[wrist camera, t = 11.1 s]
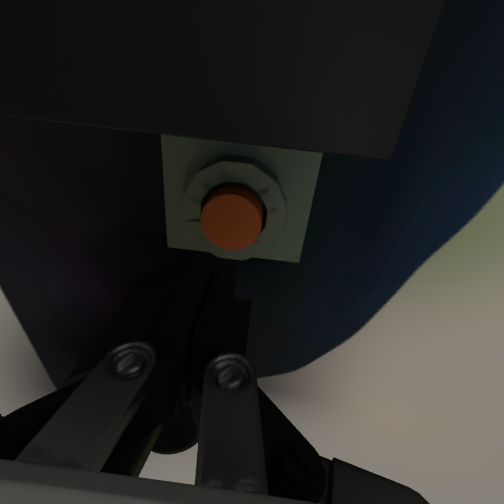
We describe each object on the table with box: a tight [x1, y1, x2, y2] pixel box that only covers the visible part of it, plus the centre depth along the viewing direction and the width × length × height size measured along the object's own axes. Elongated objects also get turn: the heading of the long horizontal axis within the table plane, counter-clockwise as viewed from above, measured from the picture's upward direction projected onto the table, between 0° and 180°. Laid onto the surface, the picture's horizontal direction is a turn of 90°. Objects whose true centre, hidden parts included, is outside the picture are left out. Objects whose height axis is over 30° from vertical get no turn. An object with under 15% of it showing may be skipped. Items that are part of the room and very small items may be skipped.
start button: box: [201, 185, 263, 250], centre depth 17 cm, size 4×4×2 cm
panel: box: [161, 134, 323, 263], centre depth 19 cm, size 10×8×4 cm
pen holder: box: [59, 277, 199, 454], centre depth 22 cm, size 9×9×10 cm
